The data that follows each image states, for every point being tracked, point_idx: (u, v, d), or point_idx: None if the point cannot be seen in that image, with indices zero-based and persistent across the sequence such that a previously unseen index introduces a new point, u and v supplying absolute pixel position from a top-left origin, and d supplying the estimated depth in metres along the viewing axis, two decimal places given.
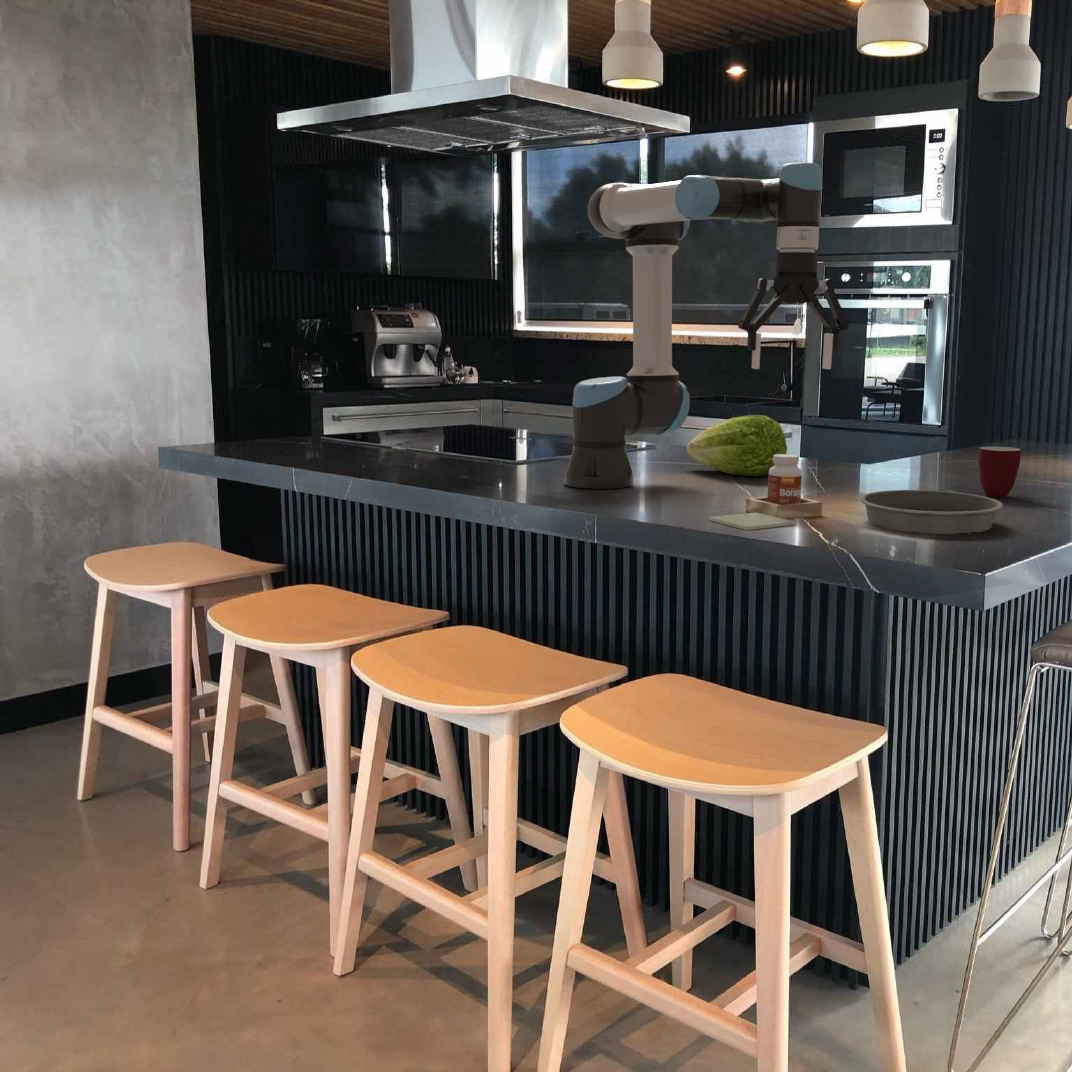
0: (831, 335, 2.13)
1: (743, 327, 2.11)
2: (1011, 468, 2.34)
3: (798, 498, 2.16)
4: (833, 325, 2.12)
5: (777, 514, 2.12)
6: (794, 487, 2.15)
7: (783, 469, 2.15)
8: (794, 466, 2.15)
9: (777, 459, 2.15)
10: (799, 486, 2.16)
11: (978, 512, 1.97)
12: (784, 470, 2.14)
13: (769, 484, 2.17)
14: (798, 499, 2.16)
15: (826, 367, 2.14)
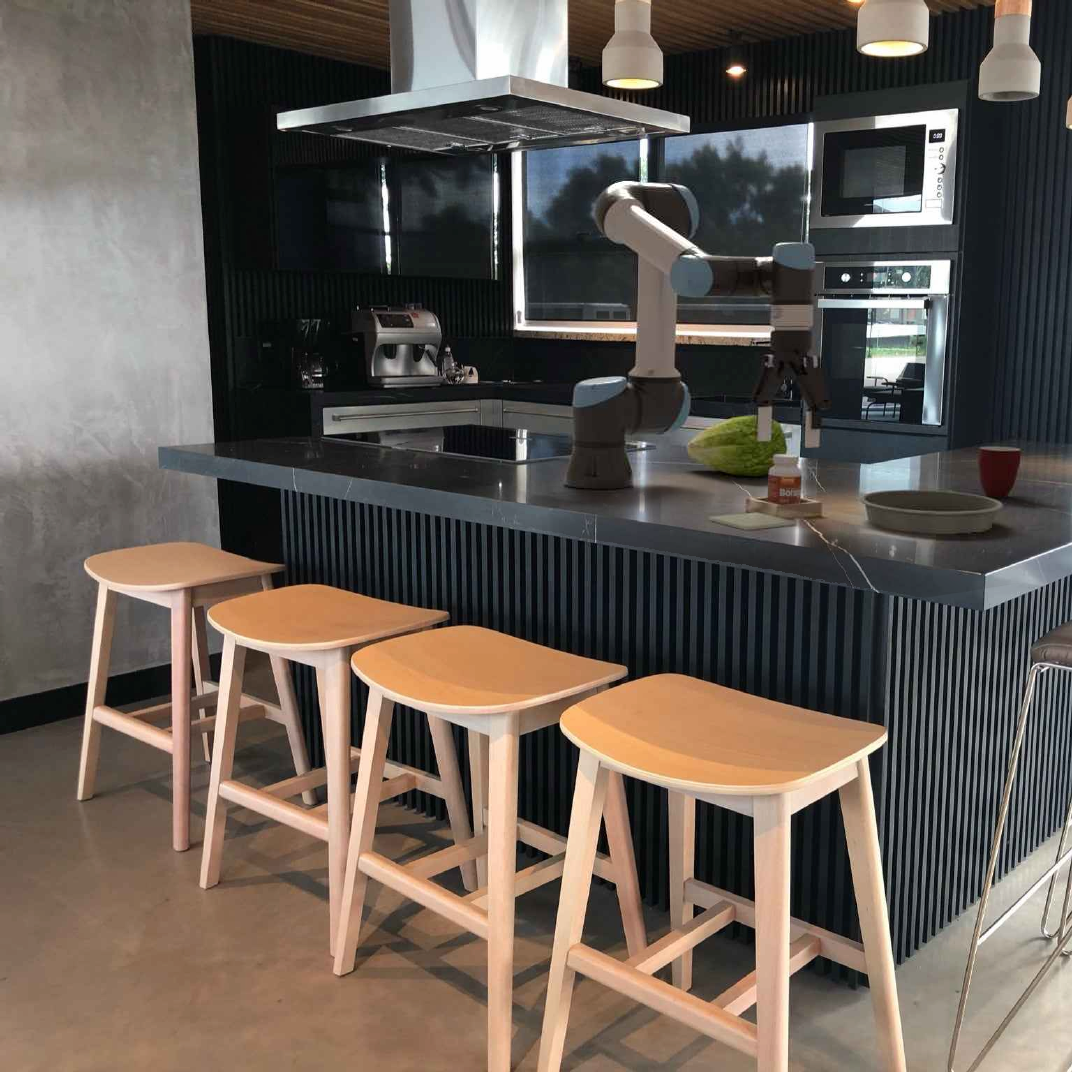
0: (807, 413, 2.08)
1: (750, 400, 2.22)
2: (1011, 468, 2.34)
3: (798, 498, 2.16)
4: (810, 403, 2.07)
5: (777, 514, 2.12)
6: (794, 487, 2.15)
7: (783, 469, 2.15)
8: (794, 466, 2.15)
9: (777, 459, 2.15)
10: (799, 486, 2.16)
11: (978, 512, 1.97)
12: (784, 470, 2.14)
13: (769, 484, 2.17)
14: (798, 499, 2.16)
15: None
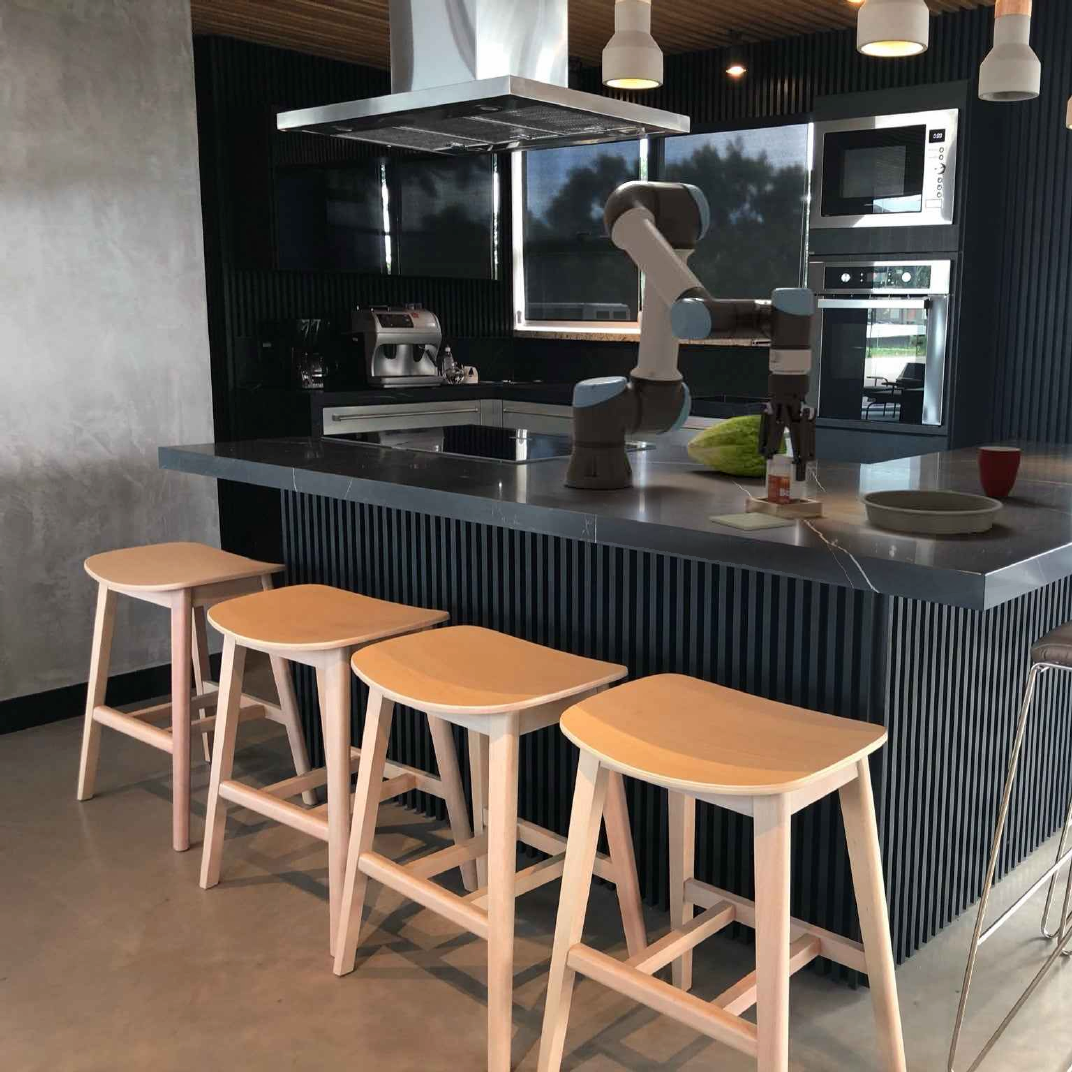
0: (792, 465, 2.13)
1: (759, 453, 2.21)
2: (1011, 468, 2.34)
3: (798, 498, 2.16)
4: (795, 455, 2.12)
5: (777, 514, 2.12)
6: None
7: (783, 468, 2.15)
8: None
9: (777, 458, 2.15)
10: None
11: (978, 512, 1.97)
12: (784, 470, 2.14)
13: (769, 484, 2.17)
14: (798, 499, 2.16)
15: None
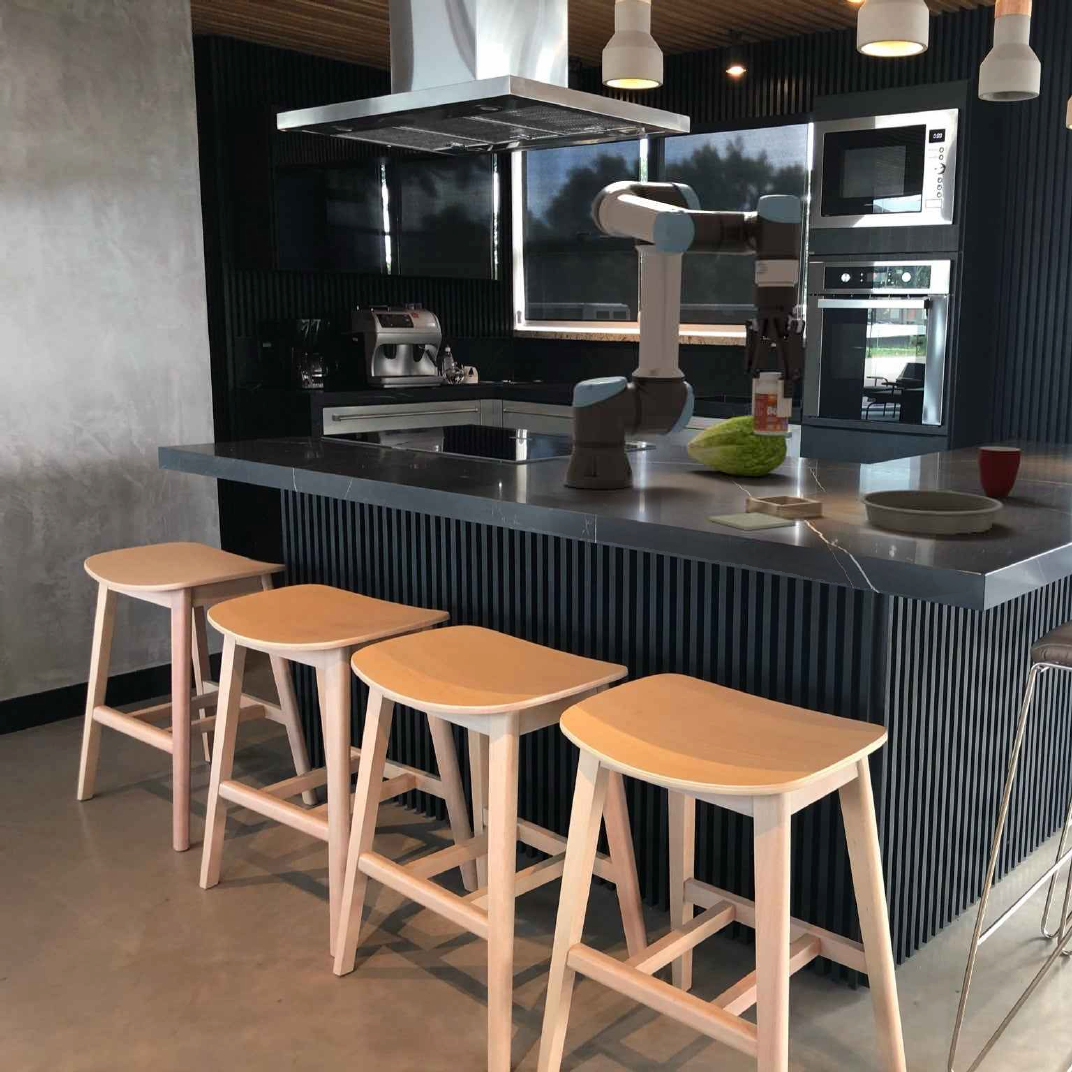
0: (779, 382, 2.04)
1: (744, 372, 2.13)
2: (1011, 468, 2.34)
3: (786, 417, 2.07)
4: (783, 371, 2.04)
5: (777, 514, 2.12)
6: None
7: (770, 386, 2.06)
8: None
9: (764, 375, 2.07)
10: None
11: (978, 512, 1.97)
12: (771, 387, 2.06)
13: (756, 403, 2.08)
14: (786, 418, 2.08)
15: None
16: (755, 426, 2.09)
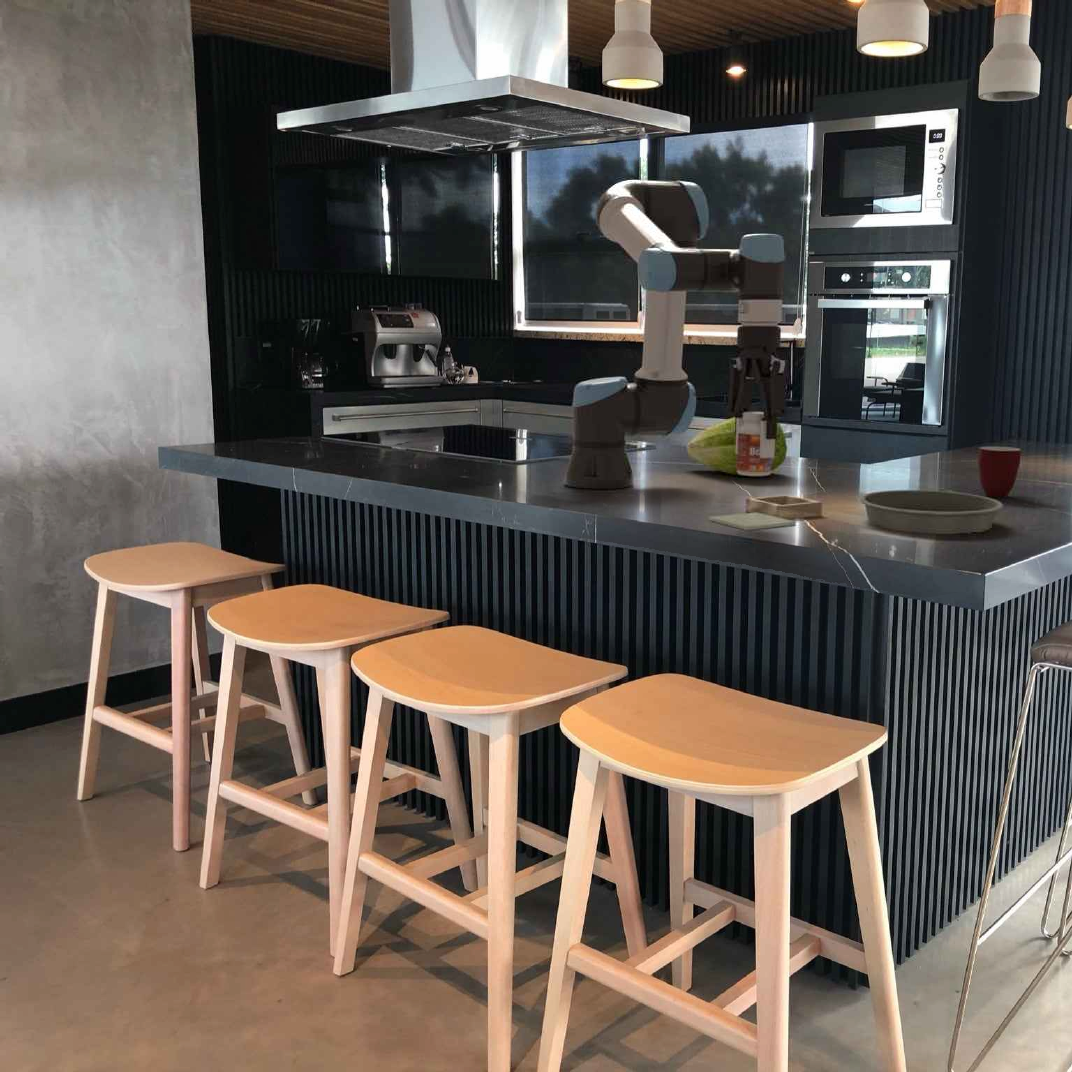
0: (762, 423, 2.02)
1: (728, 411, 2.10)
2: (1011, 468, 2.34)
3: None
4: (766, 412, 2.01)
5: (777, 514, 2.12)
6: None
7: (753, 426, 2.03)
8: None
9: (747, 416, 2.04)
10: None
11: (978, 512, 1.97)
12: (754, 428, 2.03)
13: (739, 443, 2.05)
14: (769, 458, 2.05)
15: None
16: (738, 466, 2.06)
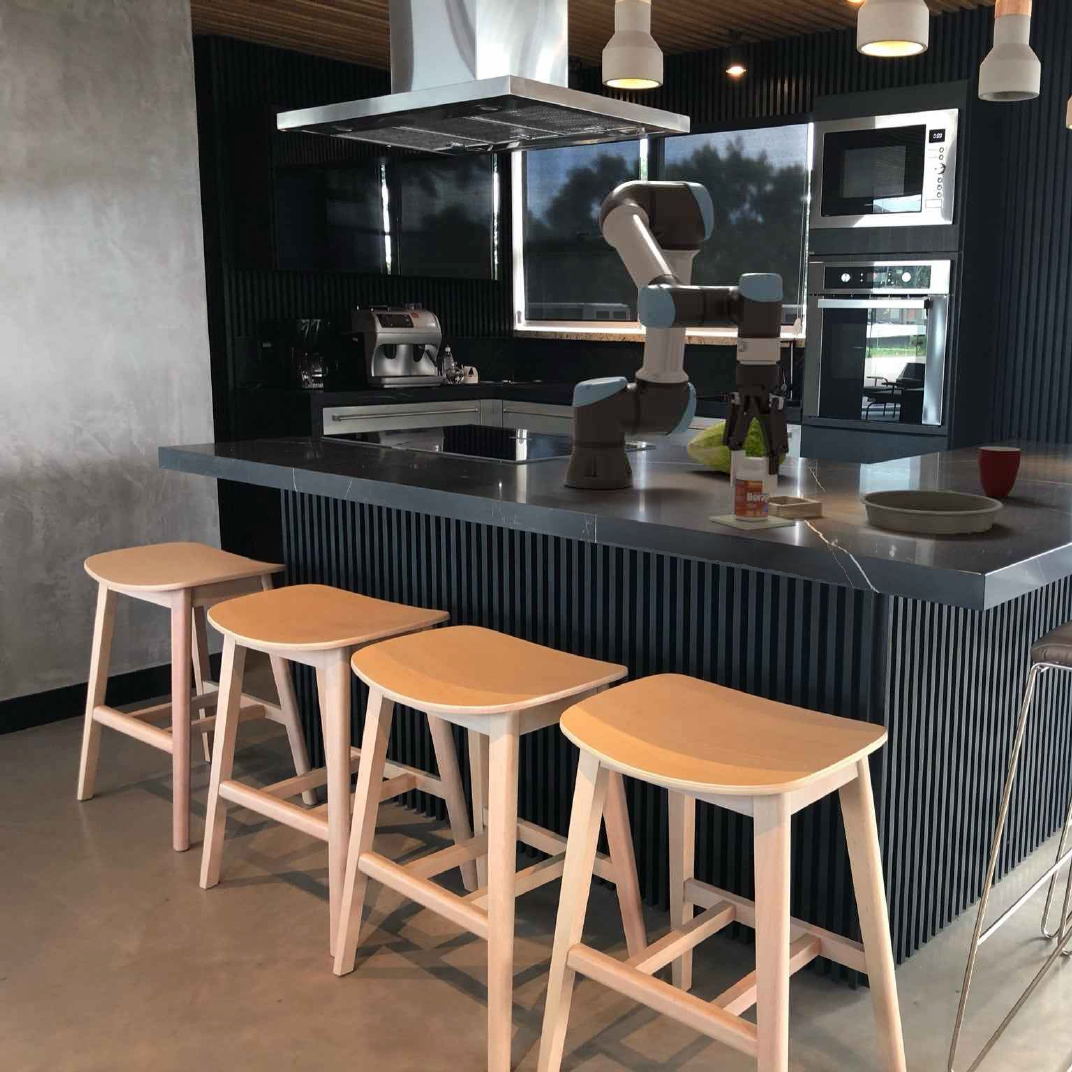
0: (764, 458, 2.02)
1: (723, 444, 2.12)
2: (1011, 468, 2.34)
3: (766, 503, 2.07)
4: (768, 448, 2.01)
5: (777, 514, 2.12)
6: None
7: (750, 472, 2.05)
8: (762, 469, 2.06)
9: (744, 461, 2.06)
10: None
11: (978, 512, 1.97)
12: (751, 474, 2.05)
13: (736, 488, 2.07)
14: (766, 504, 2.07)
15: None
16: (735, 511, 2.08)
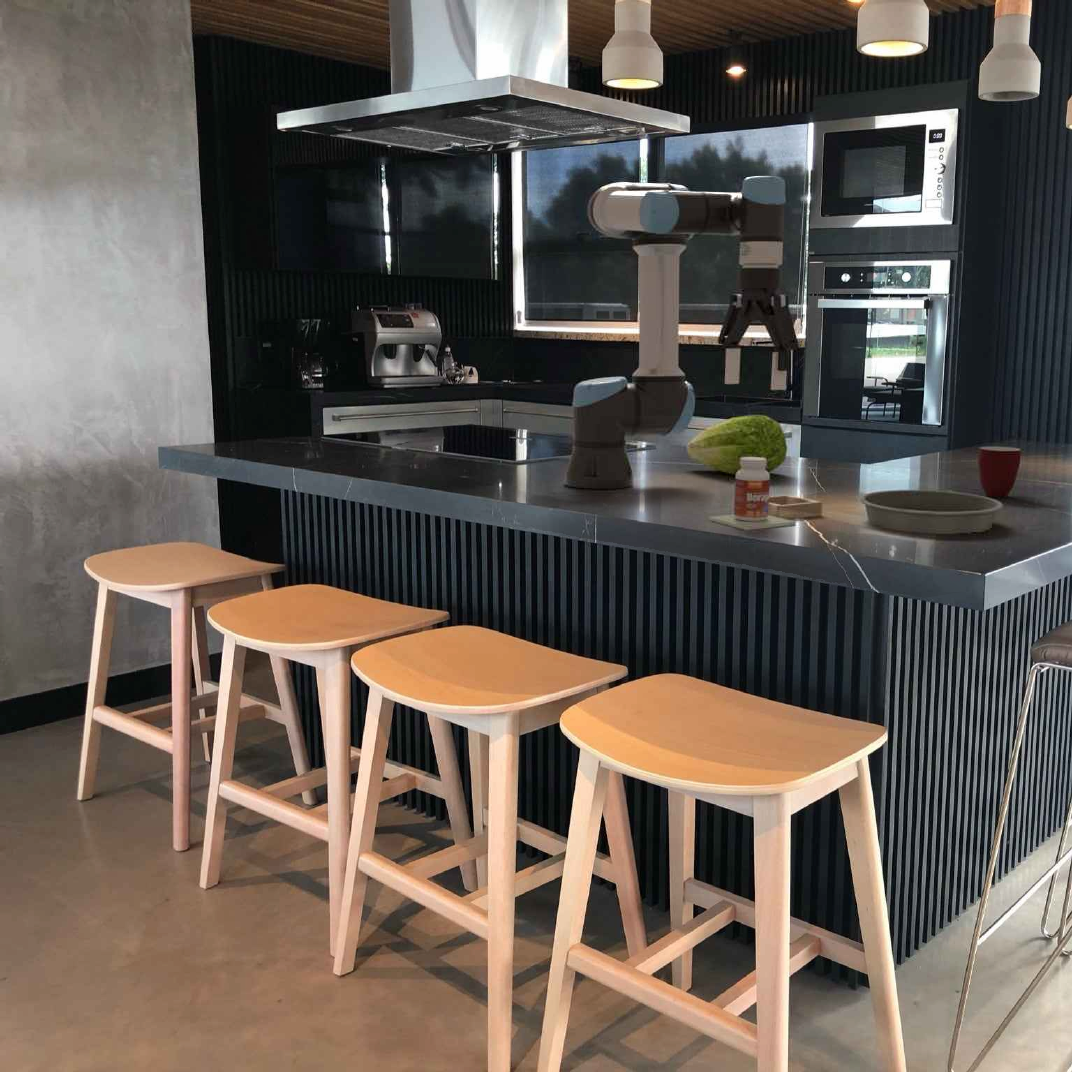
0: (774, 354, 2.02)
1: (718, 342, 2.16)
2: (1011, 468, 2.34)
3: (766, 503, 2.06)
4: (776, 344, 2.01)
5: (777, 514, 2.12)
6: (762, 492, 2.05)
7: (750, 472, 2.05)
8: (762, 469, 2.06)
9: (744, 462, 2.06)
10: (767, 490, 2.06)
11: (978, 512, 1.97)
12: (751, 474, 2.05)
13: (736, 488, 2.07)
14: (766, 504, 2.07)
15: None
16: (735, 511, 2.08)
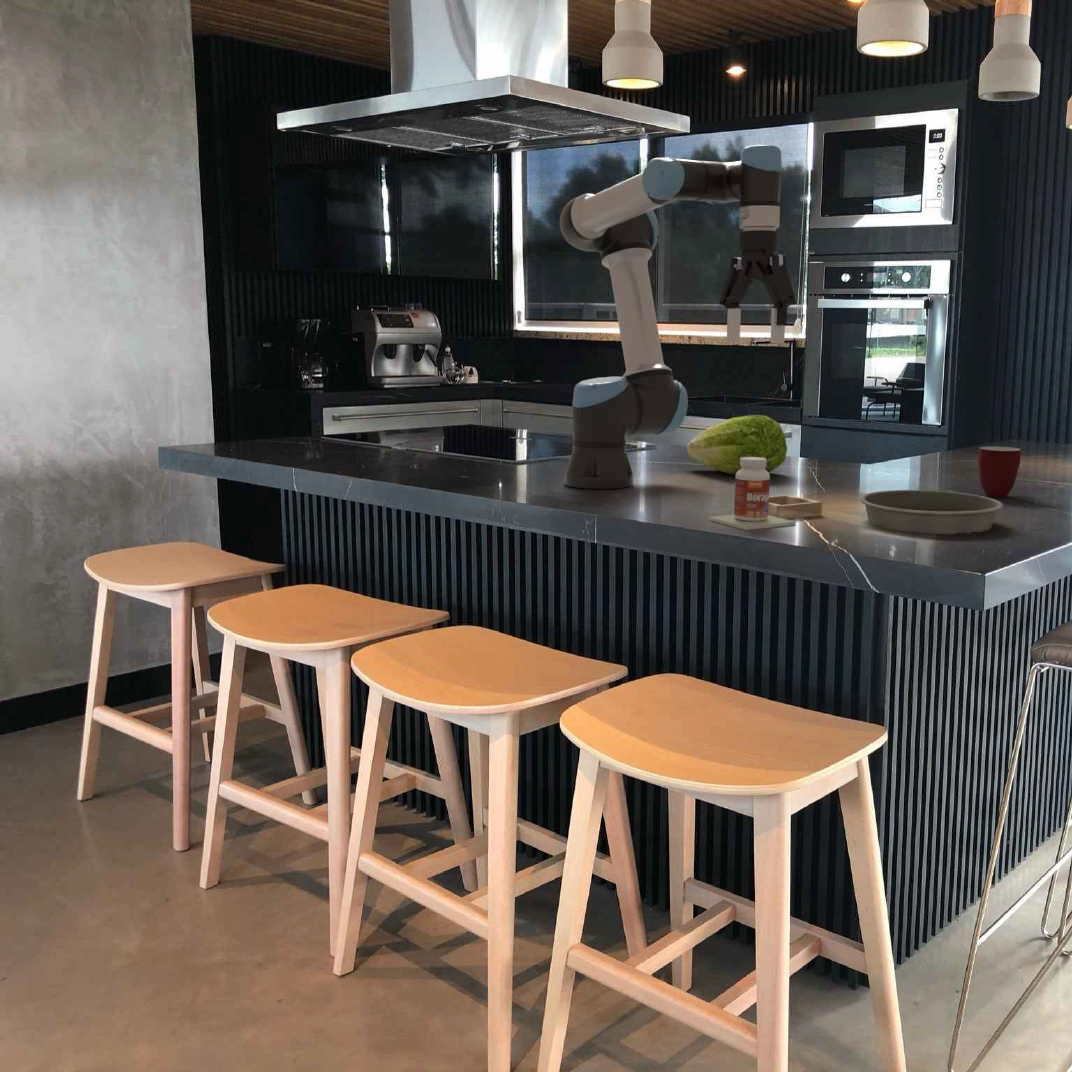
0: (773, 310, 2.17)
1: (720, 303, 2.31)
2: (1011, 468, 2.34)
3: (766, 503, 2.07)
4: (775, 300, 2.16)
5: (777, 514, 2.12)
6: (762, 492, 2.05)
7: (750, 472, 2.05)
8: (762, 469, 2.06)
9: (744, 461, 2.06)
10: (767, 490, 2.06)
11: (978, 512, 1.97)
12: (751, 474, 2.05)
13: (736, 488, 2.07)
14: (766, 504, 2.07)
15: None
16: (735, 511, 2.08)
